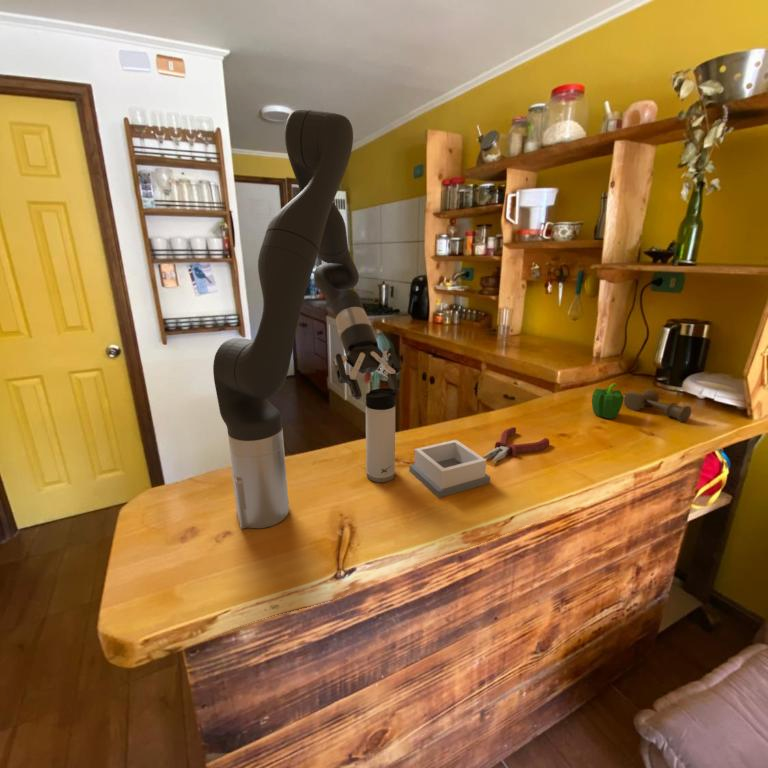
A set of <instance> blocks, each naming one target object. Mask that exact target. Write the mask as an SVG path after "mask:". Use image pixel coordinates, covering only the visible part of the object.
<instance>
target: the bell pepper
mask: <svg viewBox="0 0 768 768" xmlns="http://www.w3.org/2000/svg"><path fill="white" fill-rule="evenodd" d="M616 386H618V384H617V383H615V382H613V383H611V384H610V385H609V386H608V387H607V388H603V389H602V388H595V389H594V391H593V394H592V397H591V398H592V399H591V405H592V406H591V407H592V413H594V415H595V416H596V417H603V418H605V419H611V420H613V419H615V418H617V417H618V415H619V413H620V411H621V409H622V407H623V404H624V394H623V393H622V392H621V390H619V389H615V390H614V389H613V388H614V387H616Z"/></svg>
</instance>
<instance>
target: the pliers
mask: <svg viewBox="0 0 768 768" xmlns="http://www.w3.org/2000/svg"><path fill="white" fill-rule="evenodd" d="M516 433H517V428H516V427H515V426H513V427H512V426H511V427H509V428H507V429H505V430H504V431H503V432H501V436H500V441H496V442H495V444H494V448H492V450H490V451H489V452H487V453H486V454H485V455H483V456H482V457H483V458H484V459H490V458H493V459H492V460H491V463H492V464H493V463H495V462H498V461H500V460H503V459H504V458H505V457H506V456H509V455H510V456H511V457H512V458H515V457H517V455H519V454H520V453H521V454H527V453H529V454H530V453H536V452H541V451H543V450H545V449H546V448H548V447H549V445H550V440H549V438H547V437H544V438H543V439H541V440H539V441H536V442H535V441H534V442H528V443H519V444H518V443H517V444H508V445H507V446H506V444H507V439H508V438H509V436H510V437H512V436H513V434H514V435H516ZM511 435H512V436H511ZM507 437H508V438H507Z"/></svg>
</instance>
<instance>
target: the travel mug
mask: <svg viewBox="0 0 768 768" xmlns="http://www.w3.org/2000/svg"><path fill="white" fill-rule="evenodd" d="M397 395H398V391H397V390H394V389H390V387H385V388H384V387H382V388H375V389H372V390H369V391H368V393H366V394H365V449H366V451H365V454H366V455H365V457H366V458H365V459H366V462H365V463H366V466H365V467H366V470H365V471H366V477H367V479H369V480H370V481H372V482H375V483H387V482H389V481H392V480H393V478H394V477H395V475H396V474H395V473H396V396H397Z"/></svg>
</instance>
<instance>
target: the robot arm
mask: <svg viewBox="0 0 768 768" xmlns="http://www.w3.org/2000/svg"><path fill="white" fill-rule="evenodd" d="M284 139H285V140H284V142H285V148H286V154H287V157H288V160H289V163H290V165H291V166H290V167H291V169H292V171H293V174H294V177H295V179H296V183H297V185H298V188H299V191H300V192H299V193H298V194H297V195H296V196H295V197H293V198H292V199H291V200H290V201H289V202H287V203H286V204H285V205H284V206H283V207H282V208H281V209H279V210H278V212H277V213H276V214H275V215H274V216H273V217H272V219H271V220H270V222H269V224H268V226H267V228H266V231H265V233H264V236H263V237H264V238H263V240H262V244H261V246H260V250H259V254H258V260H257V272H258V279H259V283H260V287H261V288H260V289H261V294H262V300H263V301H262V302H263V303H262V304H263V305H262V314H261V318H260V321H259V325H258V330H257V332H256V335H255V338H254V339H248V338H242V337H241V338H239V337H236V338H230V339H228V340H226V341H224V342H223V343H222V344H220V346H219V347H218V348H217V350H216V352H215V355H214V359H213V366H212V369H213V371H212V372H213V373H212V374H213V381H214V387H215V392H216V398H217V403H218V409H219V414H220V416H221V419H222V421H223V423H224V424H225V425H226V431H227V437H228V444H229V445H228V446H229V451H230V452H229V453H230V460H231V477H232V484H233V493H234V500H235V502H234V503H235V509H236V515H237V518H238V522H239V528H240V529H247V528H250V529H265V528H269V527H272V526H275V525H277V524H279V523H281V522H282V521H284V519H286V518H287V516H288V515H289V513H290V505H289V504H290V503H289V493H288V480H287V468H286V467H287V465H286V455H285V443H284V431H283V418H282V417H283V416H282V414H281V412H280V411H279V409H277V407H276V406H274V405H273V404H272V403H271V402H270V401H269V400H268V399H270V398H272V397H274V396H276V394H278V392H280V390H281V389H282V387H283V385H284V384H285V381H286V379H287V376H288V374H289V369H290V365H291V360H292V354H293V349H294V345H295V340H296V333H297V329H298V324H299V319H300V316H301V312H302V308H303V304H304V300H305V297H306V292H307V290H308V287H309V286H308V285H309V283H310V280H311V278H312V274H313V278H314V283H315V285H316V287H317V288H318V290H319V291H320V293H321V294H322V295H323V297H324V298H325V300H326V301H327V302H328V304H329V306H330V307H331V310H332V313H333V316H334V319H335V322H336V328H337V331H338V332H337V334H338V336H339V338H340V341H341V345H342V347H343V349H344V353H345V355H342V354H341V353H336V354H335V356H334V358H333V359H334V360H333V364H334V369H335V374H336V378H337V382H338V384H344V383H345V384H347V385H348V387H349V390H350V393H351V396H352V398H355V400H357V401H358V400H360V399H361V398H362V390H361V388H360V387H361V386H359V382H358V380H357V376H358V373H361V374H365V373H374V372H377V373H378V374H379V375H383V376H384V377H385V378H386V380H387V383H388V386H389V388H390V389H394V390H397V392H398V391H399V389H400V384H399V381H398V378H397V376H399V374H400V373H401V371H403V368H402V366H401V363H400V361H399V359H398V357H397V354H396V352H395V350H394V349H393V347H389V348H388V349H387V350H381V349H380V348H379V344H378V340H377V337H376V334H375V332H374V329H373V327H372V324H371V322H370V319H369V317H368V315H367V313H366V311H365V308H364V306H363V303H362V299H361V298H360V296H359V293H358V292H357V291H355V290H353V288H355V286H357V284H358V282H359V278H360V277H359V276H360V275H359V272H358V269H357V266H356V264H355V262H354V260H353V258H352V256H351V253H350V250H349V245H348V244H349V243H348V235H347V234H348V233H347V228H346V222H345V220H344V218H343V216H342V213H341V211H340V210H339V208H338V206H336V204H335V203H334V201H335V198H336V196H337V194H338V190H339V188H340V185H341V183H342V181H343V178H344V175H345V173H346V171H347V167H348V165H349V161H350V158H351V154H352V150H353V146H354V145H353V144H354V131H353V126H352V122H351V121H350V120H349V118H348V117H346V116H344V115H342V114H339V113H336V112H330V111H320V110H314V109H304V108H303V109H302V108H298V109H295V110H292V111H291V112H290V113H289V115H288V117H287V119H286V122H285V128H284ZM317 257H318V258H319V259H320V260H321V261H322V262H324V263H321V264H319V265H317V267H316V268H315V266H316V261H317ZM314 268H315V270H314ZM313 271H314V273H313ZM383 358H384V359H385V360H384V359H383ZM346 363H347V364H348V365H350V366H351V367H352V370H351V372H350V374H347V373H346V368H345V364H346ZM380 366H381V367H380Z"/></svg>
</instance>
